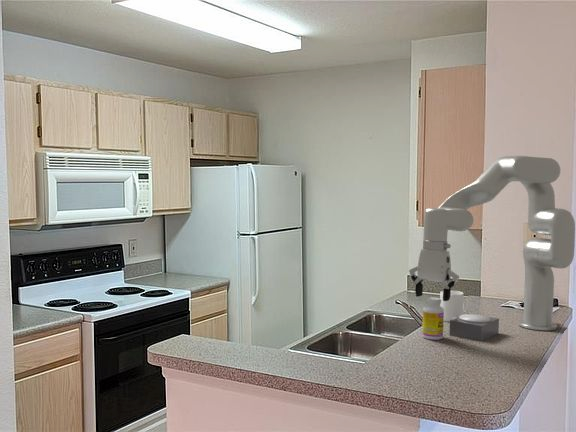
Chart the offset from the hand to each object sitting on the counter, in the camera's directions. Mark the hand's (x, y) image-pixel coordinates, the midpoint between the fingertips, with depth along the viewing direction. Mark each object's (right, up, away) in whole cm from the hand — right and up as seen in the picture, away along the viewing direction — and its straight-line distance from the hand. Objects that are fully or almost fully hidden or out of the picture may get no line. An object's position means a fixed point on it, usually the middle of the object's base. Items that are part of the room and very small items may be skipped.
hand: (432, 298), depth 190 cm
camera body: (+16, -13, +6) cm, 21 cm away
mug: (+15, -12, +27) cm, 33 cm away
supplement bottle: (0, -13, +1) cm, 13 cm away
